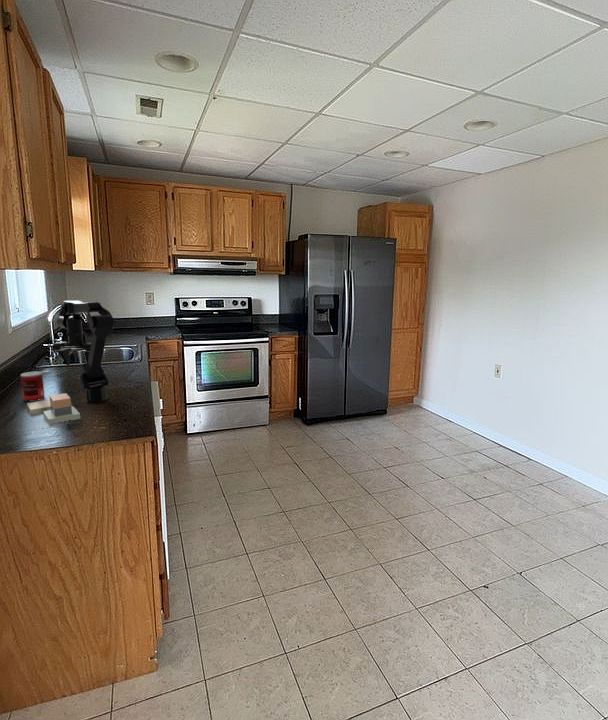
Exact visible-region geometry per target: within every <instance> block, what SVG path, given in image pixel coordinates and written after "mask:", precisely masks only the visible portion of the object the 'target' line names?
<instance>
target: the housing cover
mask: <svg viewBox="0 0 608 720" xmlns="http://www.w3.org/2000/svg"><path fill="white" fill-rule="evenodd" d="M48 397H49V400H50V404H51V405H52V407H53V408H54V409H57V408H63V407H68V406H71V407H72V399H71V397H70V396H69V395H68V393H66V392H65V393H59V394H52V395H49V396H48Z"/></svg>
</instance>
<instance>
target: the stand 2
mask: <svg viewBox="0 0 608 720" xmlns="http://www.w3.org/2000/svg"><path fill="white" fill-rule="evenodd" d="M71 407H72V414H68V415H63V416H57V417H55V416H54V415H53V413H52V412H51V410H48V411H43V413H42V414H43V418H44V417H45V418H44V419H45V421H46V420H47V421H46V422H47V424H48V423H49V424H50V425H55V424H54V423H56V424H60V423H59V422H61V423H64V421H66V422H70V421H69V420H71V421H75V420H81V413H80V412H79V411H78V410H77V409H76V407H75V406H73V405H71ZM49 424H48V425H49Z"/></svg>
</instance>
